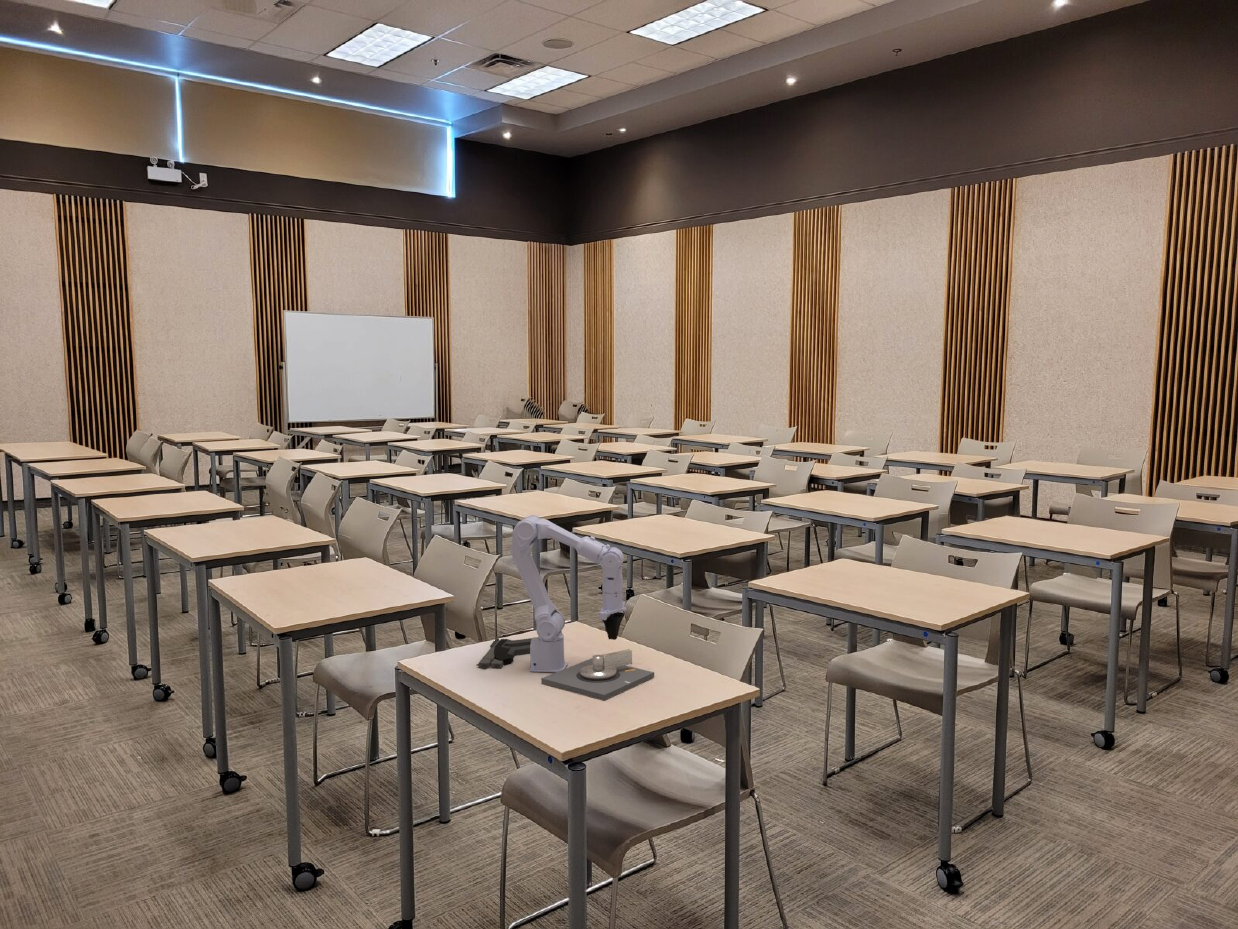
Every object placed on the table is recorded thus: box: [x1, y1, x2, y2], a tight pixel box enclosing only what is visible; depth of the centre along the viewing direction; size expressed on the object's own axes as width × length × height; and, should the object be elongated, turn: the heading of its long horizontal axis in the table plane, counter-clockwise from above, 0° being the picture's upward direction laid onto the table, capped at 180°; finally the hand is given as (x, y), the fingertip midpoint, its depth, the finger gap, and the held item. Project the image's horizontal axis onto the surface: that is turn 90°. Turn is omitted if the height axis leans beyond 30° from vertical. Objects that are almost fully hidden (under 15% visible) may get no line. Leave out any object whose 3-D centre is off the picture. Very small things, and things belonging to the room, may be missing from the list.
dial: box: [580, 648, 633, 680], centre depth 242 cm, size 16×10×5 cm, turn 122°
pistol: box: [476, 637, 533, 670], centre depth 264 cm, size 2×26×15 cm
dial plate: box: [540, 657, 655, 702], centre depth 241 cm, size 22×22×2 cm
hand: (612, 638), depth 248 cm, fingers closed
